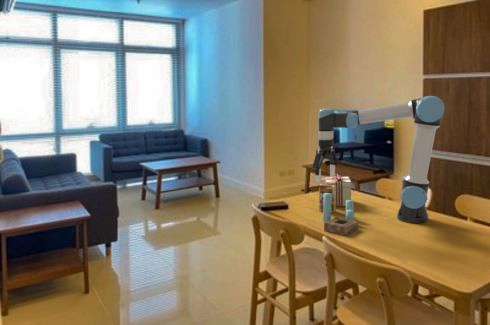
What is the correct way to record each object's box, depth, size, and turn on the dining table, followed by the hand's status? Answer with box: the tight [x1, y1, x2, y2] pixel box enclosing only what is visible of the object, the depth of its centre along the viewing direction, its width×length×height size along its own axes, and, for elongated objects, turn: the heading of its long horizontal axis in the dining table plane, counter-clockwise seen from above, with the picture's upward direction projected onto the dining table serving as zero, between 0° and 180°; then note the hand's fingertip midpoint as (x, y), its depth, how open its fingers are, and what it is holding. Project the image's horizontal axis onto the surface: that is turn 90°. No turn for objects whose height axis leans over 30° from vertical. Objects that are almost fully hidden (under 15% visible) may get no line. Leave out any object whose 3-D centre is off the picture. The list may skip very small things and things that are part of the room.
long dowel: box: [322, 193, 332, 223], centre depth 218 cm, size 4×4×15 cm
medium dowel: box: [345, 199, 355, 211], centre depth 222 cm, size 4×4×10 cm
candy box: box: [318, 183, 337, 213], centre depth 237 cm, size 9×4×15 cm, turn 61°
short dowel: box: [345, 209, 355, 221], centre depth 214 cm, size 4×4×7 cm
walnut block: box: [323, 216, 359, 236], centre depth 206 cm, size 12×12×4 cm
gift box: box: [320, 173, 353, 207], centre depth 252 cm, size 17×18×17 cm
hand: (325, 179), depth 220 cm, fingers open, 13 cm apart
